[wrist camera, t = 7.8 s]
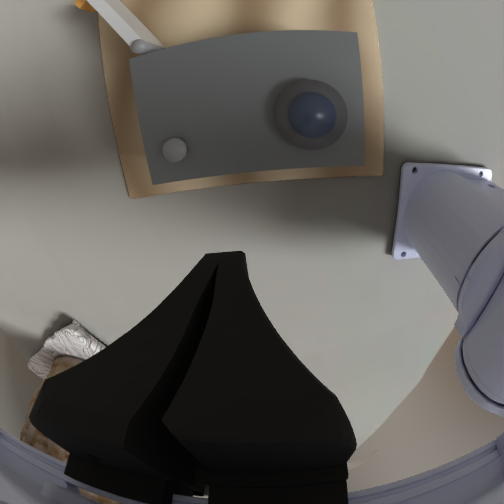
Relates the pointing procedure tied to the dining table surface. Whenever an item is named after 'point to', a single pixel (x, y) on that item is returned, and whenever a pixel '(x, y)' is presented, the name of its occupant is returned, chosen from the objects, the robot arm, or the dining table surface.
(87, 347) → the cookie jar
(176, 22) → the wooden board
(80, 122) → the dining table surface
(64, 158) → the dining table surface
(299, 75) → the camera body
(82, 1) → the side door
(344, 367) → the dining table surface
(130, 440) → the robot arm
